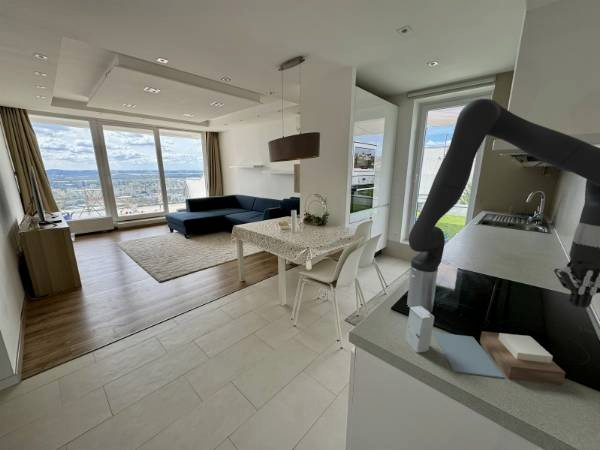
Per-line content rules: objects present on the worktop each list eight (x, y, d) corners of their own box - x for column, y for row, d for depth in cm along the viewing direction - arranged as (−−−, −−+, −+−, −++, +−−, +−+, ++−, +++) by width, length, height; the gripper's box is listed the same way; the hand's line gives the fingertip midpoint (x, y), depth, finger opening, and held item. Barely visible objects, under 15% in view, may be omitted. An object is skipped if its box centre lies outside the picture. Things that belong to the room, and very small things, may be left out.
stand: (479, 342, 77) (481, 331, 76) (522, 346, 74) (525, 335, 73) (508, 378, 63) (511, 366, 62) (561, 385, 61) (565, 372, 60)
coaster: (498, 338, 72) (499, 333, 72) (528, 342, 71) (530, 336, 70) (516, 358, 65) (517, 352, 64) (551, 362, 63) (552, 356, 63)
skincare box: (404, 340, 78) (408, 306, 75) (417, 338, 79) (420, 305, 76) (417, 353, 72) (421, 318, 69) (430, 351, 73) (435, 316, 70)
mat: (433, 333, 81) (433, 332, 81) (473, 337, 79) (473, 336, 79) (454, 371, 65) (454, 370, 65) (504, 378, 63) (504, 377, 63)
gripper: (613, 239, 61) (594, 300, 65) (551, 237, 63) (537, 296, 67) (648, 248, 54) (626, 317, 58) (577, 245, 56) (560, 311, 60)
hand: (578, 305), depth 63 cm, fingers closed
